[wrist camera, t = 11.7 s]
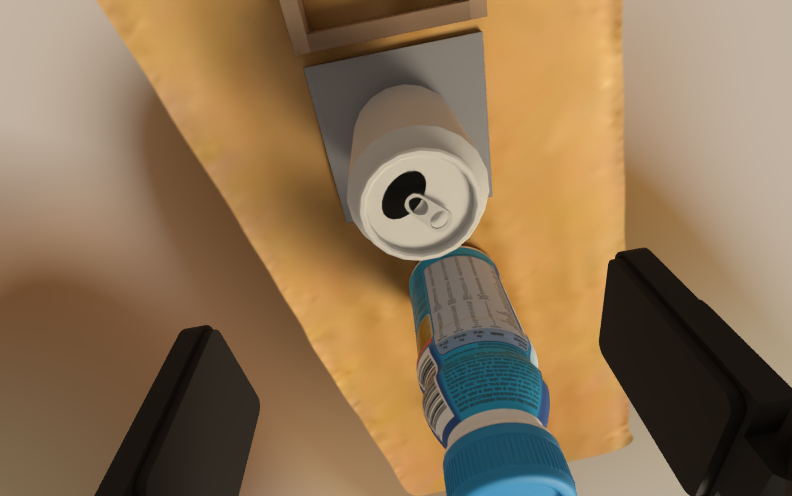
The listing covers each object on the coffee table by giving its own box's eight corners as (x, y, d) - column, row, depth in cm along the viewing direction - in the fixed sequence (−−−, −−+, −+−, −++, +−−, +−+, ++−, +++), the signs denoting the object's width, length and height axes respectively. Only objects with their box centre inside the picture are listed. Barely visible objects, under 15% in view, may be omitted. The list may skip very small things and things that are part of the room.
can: (388, 58, 28) (398, 102, 18) (476, 118, 30) (529, 187, 20) (335, 151, 31) (317, 233, 21) (418, 199, 34) (438, 293, 23)
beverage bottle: (467, 223, 35) (553, 443, 19) (515, 285, 39) (622, 514, 22) (388, 275, 38) (400, 510, 21) (440, 328, 42) (486, 563, 25)
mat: (304, 67, 28) (303, 68, 28) (481, 31, 28) (482, 31, 27) (346, 220, 35) (346, 223, 34) (491, 194, 34) (492, 196, 34)
